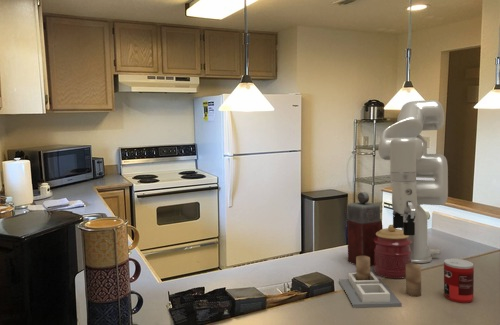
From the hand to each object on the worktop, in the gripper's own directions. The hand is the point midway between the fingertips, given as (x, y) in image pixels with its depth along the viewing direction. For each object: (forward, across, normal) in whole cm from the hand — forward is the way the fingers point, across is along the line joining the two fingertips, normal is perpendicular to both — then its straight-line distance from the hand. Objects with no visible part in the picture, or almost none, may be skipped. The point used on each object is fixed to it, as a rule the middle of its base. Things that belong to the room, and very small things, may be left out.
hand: (403, 231), depth 123 cm
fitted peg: (+18, +4, +12) cm, 22 cm away
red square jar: (+19, +29, +4) cm, 35 cm away
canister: (+19, +17, -2) cm, 26 cm away
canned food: (+20, -5, -14) cm, 25 cm away
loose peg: (+19, -2, -2) cm, 20 cm away
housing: (+20, -1, +12) cm, 23 cm away
